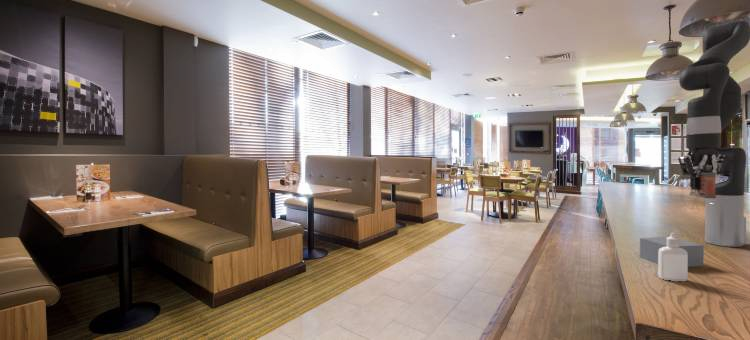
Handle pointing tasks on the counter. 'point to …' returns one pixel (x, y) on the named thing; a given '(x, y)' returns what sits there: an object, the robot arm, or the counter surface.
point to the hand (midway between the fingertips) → (702, 189)
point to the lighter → (706, 184)
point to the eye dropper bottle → (673, 261)
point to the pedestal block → (652, 245)
